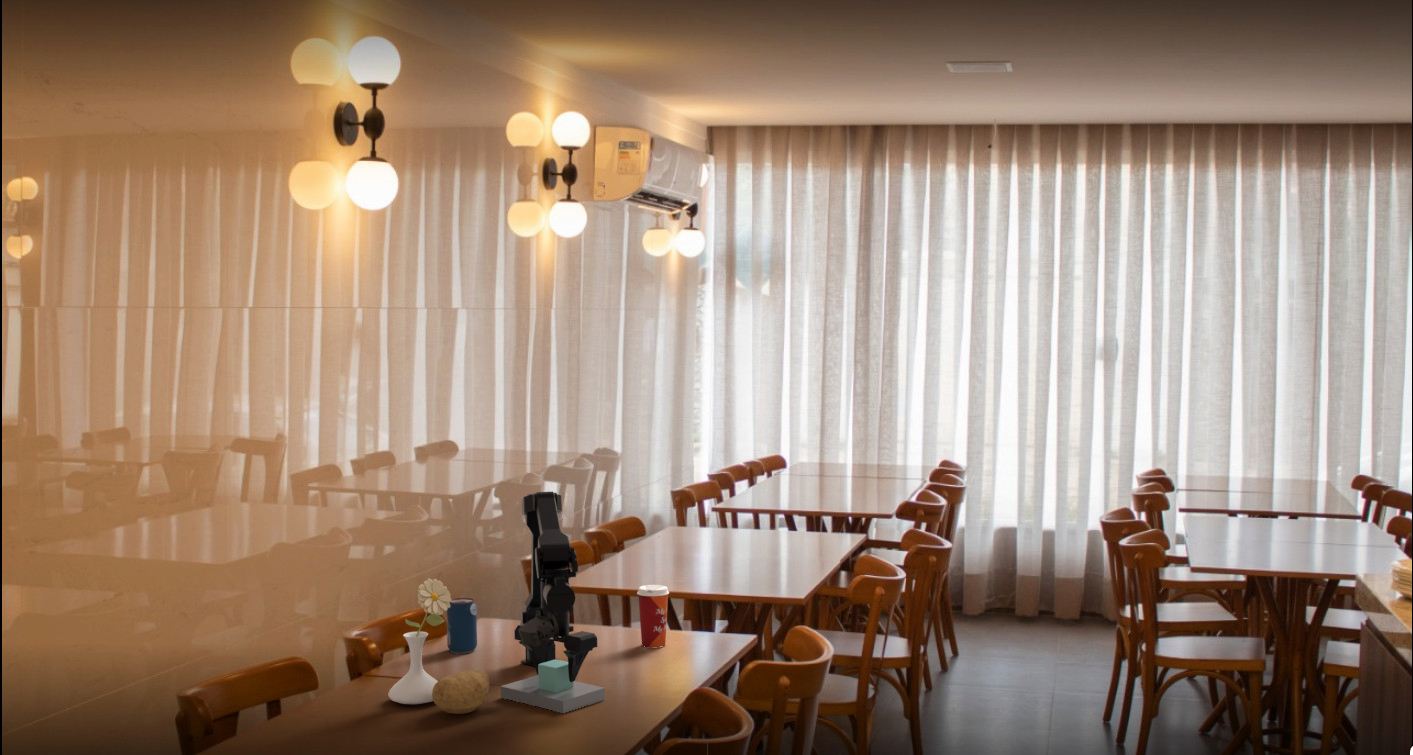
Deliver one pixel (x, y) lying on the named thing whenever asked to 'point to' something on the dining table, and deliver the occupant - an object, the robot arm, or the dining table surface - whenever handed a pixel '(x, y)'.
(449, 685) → the potato
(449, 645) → the soda can
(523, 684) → the slate board
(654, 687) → the dining table surface
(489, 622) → the dining table surface
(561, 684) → the teal cube
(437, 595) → the flower in vase
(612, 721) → the dining table surface
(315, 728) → the dining table surface
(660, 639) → the paper cup
